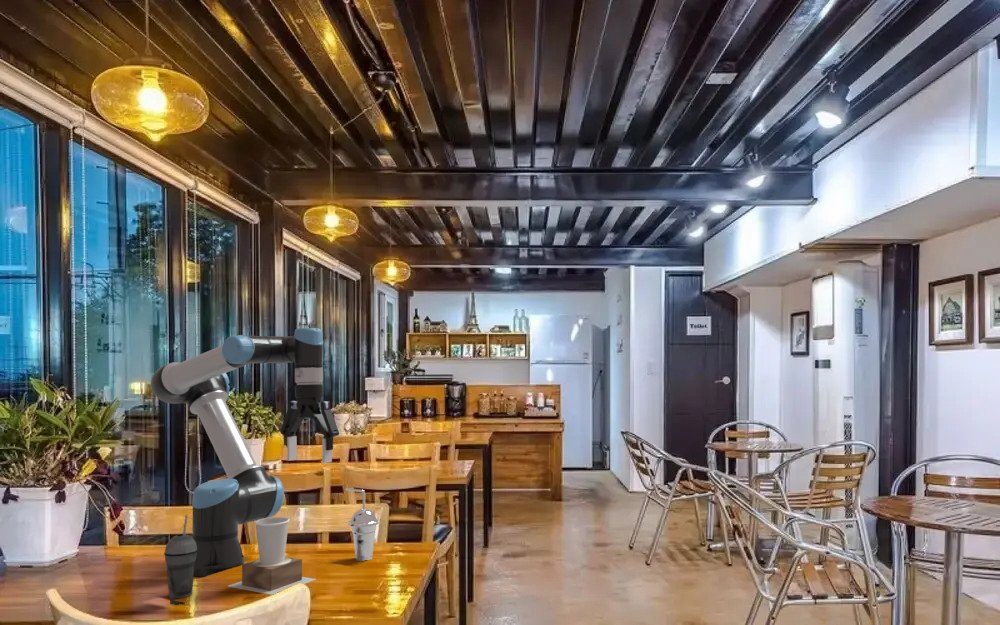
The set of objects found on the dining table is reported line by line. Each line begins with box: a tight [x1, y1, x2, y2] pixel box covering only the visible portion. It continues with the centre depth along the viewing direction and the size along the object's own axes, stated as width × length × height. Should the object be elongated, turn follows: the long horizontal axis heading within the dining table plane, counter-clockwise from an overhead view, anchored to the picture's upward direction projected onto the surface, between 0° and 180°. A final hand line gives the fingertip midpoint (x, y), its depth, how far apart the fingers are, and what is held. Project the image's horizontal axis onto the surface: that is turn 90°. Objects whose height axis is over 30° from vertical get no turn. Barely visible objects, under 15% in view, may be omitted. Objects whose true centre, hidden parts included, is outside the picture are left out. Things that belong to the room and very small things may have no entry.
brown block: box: [241, 556, 303, 591], centre depth 183 cm, size 10×10×5 cm
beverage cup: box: [164, 514, 198, 606], centre depth 175 cm, size 7×7×20 cm
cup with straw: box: [344, 487, 380, 562], centre depth 210 cm, size 8×9×20 cm
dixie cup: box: [254, 516, 290, 565], centre depth 184 cm, size 8×8×10 cm
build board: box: [227, 576, 317, 596], centre depth 183 cm, size 16×14×2 cm
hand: (309, 461), depth 203 cm, fingers open, 13 cm apart
